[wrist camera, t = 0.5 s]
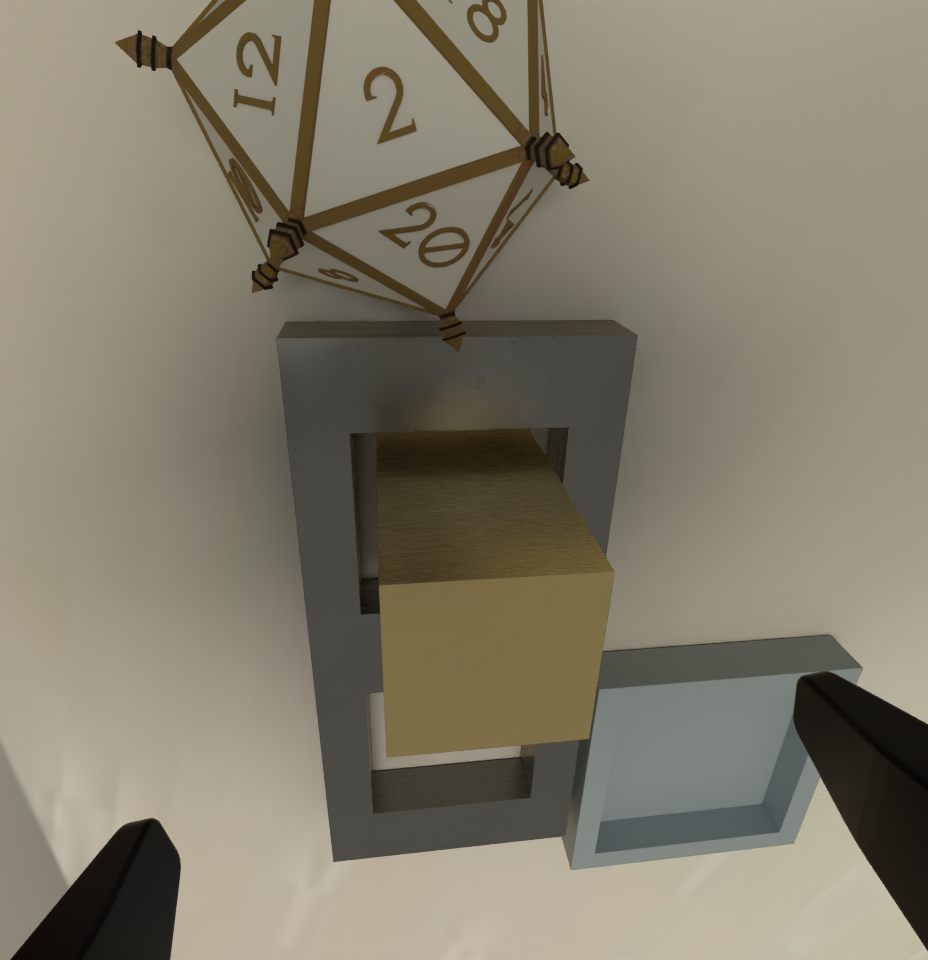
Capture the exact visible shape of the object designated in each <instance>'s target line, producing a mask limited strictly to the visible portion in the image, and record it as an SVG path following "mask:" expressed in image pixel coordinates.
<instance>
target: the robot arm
mask: <svg viewBox="0 0 928 960" xmlns="http://www.w3.org/2000/svg"><path fill="white" fill-rule="evenodd" d="M793 721H794V726H795V729H796V731H797V734H798V736H799V738H800V739H801V741H802V743H803V745H804V747H805V749H806V751H807V753H808V754H809V756H810V758H811V760H812V762H813V764H814V766H815V768H816V769H817V771H818V773H819V775H820V777H821V779H822V781H823V782H824V784H825V786H826V788H827V790H828V792H829V794H830V796H831V797H832V799H833V801H834V803H835V805H836V807H837V809H838V811H839V812H840V814H841V816H842V818H843V820H844V822H845V824H846V825H847V827H848V829H849V831H850V832H851V834H852V836H853V838H854V839H855V841H856V843H857V844H858V846H859V848H860V849H861V851H862V852H863V854H864V855H865V857H866V859H867V860H868V862H869V863H870V865H871V866H872V868H873V869H874V871H875V872H876V874H877V875H878V877H879V878H880V880H881V881H882V883H883V884H884V886H885V887H886V889H887V890H888V892H889V893H890V895H891V896H892V898H893V899H894V901H895V902H896V904H897V905H898V907H899V908H900V910H901V911H902V913H903V914H904V916H905V917H906V919H907V920H908V922H909V924H910V925H911V927H912V928H913V930H914V931H915V933H916V934H917V936H918V937H919V939H920V940H921V942H922V943H923V945H924V946H925V948H926V949H927V951H928V724H927V723H925V722H923V721H921V720H919V719H917V718H916V717H914V716H912V715H910V714H908V713H906V712H905V711H903V710H901V709H899V708H897V707H895V706H894V705H892V704H890V703H888V702H886V701H884V700H883V699H881V698H879V697H877V696H875V695H873V694H872V693H870V692H868V691H866V690H864V689H862V688H861V687H859V686H857V685H855V684H853V683H851V682H850V681H848V680H846V679H844V678H842V677H840V676H839V675H837V674H835V673H832V672H829V671H821V672H816V673H811V674H807V675H803V676H801V677H800V678H799V679H798V680H797V684H796V693H795V702H794V711H793ZM180 871H181V864H180V857H179V854H178V852H177V850H176V848H175V846H174V845H173V843H172V842H171V840H170V838H169V837H168V835H167V833H166V832H165V830H164V828H163V827H162V825H161V823H160V822H159V821H158V820H156V819H154V818H149V819H144V820H140V821H135V822H130V823H127V824H125V825H123V826H122V827H121V828H120V829H119V830H118V831H117V832H116V833H115V834H114V835H113V836H112V838H111V839H110V840H109V841H108V843H107V844H106V845H105V846H104V847H103V849H102V850H101V851H100V852H99V853H98V855H97V856H96V857H95V858H94V859H93V861H92V862H91V863H90V864H89V865H88V867H87V868H86V869H85V870H84V871H83V873H82V874H81V875H80V876H79V877H78V879H77V880H76V881H75V882H74V883H73V885H72V886H71V887H70V888H69V890H68V891H67V892H66V893H65V894H64V896H63V897H62V898H61V899H60V901H59V902H58V903H57V904H56V905H55V906H54V908H53V909H52V910H51V911H50V912H49V914H48V915H47V916H46V917H45V919H44V920H43V921H42V922H41V923H40V924H39V926H38V927H37V928H36V930H34V932H33V933H32V934H31V935H30V937H29V938H28V939H27V940H26V941H25V943H24V944H23V945H22V946H21V947H20V949H19V950H18V951H17V952H16V954H15V955H14V956H13V957H12V958H11V959H10V960H170V957H171V949H172V940H173V932H174V923H175V915H176V906H177V898H178V889H179V880H180Z"/></svg>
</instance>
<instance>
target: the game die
mask: <svg viewBox="0 0 928 960" xmlns="http://www.w3.org/2000/svg"><path fill="white" fill-rule="evenodd" d="M115 43H116V44H117V45H118V46H119V47H120V48H121V49H122V50H123V51H124V52H125V53H126V54H127V55H129V56H130V57H131V58H132V59H133V60H134V61H135V62H136V63H137V67H139V68H141V66H142V65H144V66H148V67H151V69H152V70H153V71H155V70H156V68H168V69H170V70H172V72H173V74H174V76H175V78H176V80H177V82H178V84H179V86H180V88H181V90H182V92H183V94H184V96H185V98H186V100H187V102H188V104H189V106H190V108H191V110H192V112H193V114H194V116H195V118H196V120H197V122H198V124H199V126H200V128H201V130H202V132H203V134H204V136H205V138H206V140H207V142H208V144H209V146H210V148H211V150H212V152H213V154H214V156H215V157H216V159H217V161H218V163H219V165H220V167H221V169H222V171H223V173H224V175H225V177H226V179H227V181H228V183H229V185H230V187H231V189H232V191H233V193H234V195H235V197H236V199H237V201H238V203H239V205H240V207H241V209H242V211H243V213H244V215H245V217H246V219H247V221H248V223H249V225H250V227H251V229H252V231H253V233H254V235H255V237H256V239H257V241H258V243H259V245H260V247H261V249H262V251H263V253H264V255H265V257H266V259H267V262H265V263H264V264H262V265H261V264H258V269H257V270H256V271H252V280H253V287H252V293H253V292H257V291H260V290H263V289H264V290H267V289H272V288H273V286H272V284H273V283H274V282H276V281H278V278H277V275H278V272H279V271H284V272H287V273H291V274H294V275H298V276H301V277H305V278H308V279H312V280H315V281H319V282H322V283H326V284H329V285H333V286H336V287H340V288H343V289H347V290H350V291H353V292H357V293H360V294H364V295H367V296H371V297H374V298H378V299H381V300H385V301H388V302H392V303H395V304H399V305H402V306H406V307H409V308H413V309H416V310H420V311H423V312H427V313H430V314H434V315H437V316H439V317H440V319H441V328H439V330H440V331H442V334H443V337H444V338H443V339H442V341H445V342H447V343H448V344H449V345H450V346H451V347H452V348H454V349H455V350H456V351H457V352H458V353H459V352H460V348H461V344H462V340H463V336H464V334H466V332H465V331H464V332H463V330H462V327H461V324H462V321H460V322H459V320H458V319H457V317H456V316H455V312H454V310H455V309H456V308H457V307H458V305H459V304H460V303H461V301H462V300H463V299H464V297H465V296H466V295H467V293H468V292H469V291H470V289H471V288H472V287H473V286H474V284H475V283H476V282H477V280H478V279H479V278H480V276H481V275H482V274H483V272H484V271H485V270H486V269H487V267H488V266H489V265H490V263H491V262H492V261H493V259H494V258H495V257H496V255H497V254H498V253H499V251H500V250H501V249H502V248H503V246H504V245H505V244H506V242H507V241H508V240H509V238H510V237H511V236H512V234H513V233H514V232H515V230H516V229H517V228H518V227H519V225H520V224H521V223H522V221H523V220H524V219H525V217H526V216H527V215H528V213H529V212H530V211H531V210H532V208H533V207H534V206H535V204H536V203H537V202H538V200H539V199H540V198H541V196H542V195H543V194H544V192H545V191H546V190H547V189H548V187H549V186H550V185H551V183H552V182H553V181H554V179H556V180H558V181H559V182H560V185H561V186H564V185H567V186H569V189H572V188H574V187H576V186H578V185H579V184H581V183H584V182H586V181H589V179H588V178H587V177H586V175H585V174H584V173H583V171H582V170H583V168H582V167H581V166H580V165H579V164H578V163H575V165H573V164H571V163H570V162H569V161H570V160H571V159H573V158H574V157H575V155H574V154H573V153H572V152H571V151H570V149H569V148H568V147H569V144H568V143H567V142H566V141H565V139H564V138H563V137H562V136H561V134H560V133H556V126H555V116H554V107H553V97H552V88H551V78H550V69H549V59H548V50H547V40H546V31H545V21H544V11H543V2H542V0H212V1H211V2H210V4H209V5H208V6H207V7H206V8H205V9H204V11H203V12H202V13H201V14H200V15H199V16H198V18H197V19H196V20H195V21H194V22H193V23H192V25H191V26H190V27H189V28H188V29H187V30H186V32H185V33H184V34H183V35H182V36H181V37H180V39H179V40H178V41H177V42H176V43H175V44H174V46H173V47H167V46H165V45H163V44H162V43H160V42H159V41H157V39H156V36H153V35H152V38H150V37H147V36H144V35H142V32H141V31H139V30H138V34H136V35H133V36H130V37H128V38H125V39H122V40H119V41H117V42H115Z"/></svg>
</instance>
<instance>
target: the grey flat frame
mask: <svg viewBox="0 0 928 960" xmlns="http://www.w3.org/2000/svg"><path fill="white" fill-rule="evenodd" d="M459 322H460V321H459ZM461 327H462V330H463V332H464V331H465V332H466V334H464V336H463V340H462V344H461V348H460V352H459V353H458V352H457V351H456V350H455V349H454V348H452V347H451V346H450V345H449V344H448V343H447V342H445V341H442V339H443V338H444V337H443V334H442V331H440V330H439V328H441V321H394V322H285V324H284V326H283V328H282V330H281V331H280V333H279V335H278V337H277V348H278V357H279V366H280V376H281V385H282V394H283V403H284V412H285V421H286V431H287V440H288V449H289V458H290V467H291V476H292V486H293V495H294V504H295V513H296V522H297V531H298V541H299V550H300V559H301V568H302V577H303V587H304V596H305V605H306V614H307V623H308V632H309V642H310V651H311V660H312V669H313V678H314V687H315V697H316V706H317V715H318V724H319V733H320V742H321V752H322V761H323V770H324V779H325V788H326V797H327V807H328V816H329V825H330V834H331V843H332V852H333V862H337V861H346V860H355V859H364V858H373V857H382V856H391V855H400V854H409V853H418V852H427V851H435V850H444V849H453V848H462V847H471V846H480V845H489V844H498V843H507V842H516V841H525V840H534V839H543V838H552V837H561V836H566V829H567V822H568V815H569V808H570V801H571V794H572V788H573V781H574V774H575V767H576V760H577V753H578V746H579V740H572V741H561V742H551V743H540V744H529V745H522V749H521V758H512V759H502V760H491V761H481V762H470V763H460V764H449V765H439V766H428V767H418V768H407V769H397V770H386V771H375V772H373V765H372V748H371V731H370V714H369V697H368V693H376V692H384V688H383V665H382V643H381V621H380V599H379V579H367V580H362V579H361V563H360V546H359V529H358V512H357V495H356V479H355V462H354V445H353V433H380V432H416V431H451V430H487V429H523V428H550V432H549V444H548V455H547V459H548V461H549V463H550V464H551V466H552V468H553V469H554V471H555V473H556V474H557V476H558V478H559V479H560V481H561V483H562V485H563V486H564V488H565V490H566V491H567V493H568V495H569V496H570V498H571V500H572V501H573V503H574V505H575V506H576V508H577V510H578V511H579V513H580V515H581V516H582V518H583V520H584V521H585V523H586V525H587V526H588V528H589V530H590V531H591V533H592V535H593V536H594V538H595V540H596V541H597V543H598V545H599V547H600V548H601V550H602V552H603V553H604V555H605V557H606V551H607V545H608V538H609V531H610V524H611V517H612V510H613V503H614V496H615V489H616V482H617V475H618V468H619V461H620V454H621V447H622V440H623V433H624V427H625V420H626V413H627V406H628V399H629V392H630V385H631V378H632V371H633V364H634V357H635V350H636V343H637V336H638V335H636V334H635V333H633V332H631V331H630V330H628V329H627V328H625V327H624V326H622V325H620V324H619V323H617V322H616V321H614V320H565V321H462V324H461Z"/></svg>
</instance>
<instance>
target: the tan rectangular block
mask: <svg viewBox="0 0 928 960" xmlns="http://www.w3.org/2000/svg"><path fill="white" fill-rule="evenodd" d="M376 443H377V502H378V561H379V599H380V621H381V643H382V665H383V688H384V710H385V732H386V754H387V757H398V756H409V755H420V754H431V753H442V752H453V751H463V750H474V749H485V748H496V747H507V746H518V745H529V744H540V743H551V742H561V741H572V740H583V739H589V735H590V729H591V722H592V716H593V709H594V703H595V696H596V690H597V683H598V677H599V670H600V663H601V657H602V650H603V644H604V637H605V631H606V624H607V618H608V611H609V605H610V598H611V592H612V585H613V579H614V570H613V568H612V567H611V565H610V563H609V562H608V560H607V558H606V557H605V555H604V553H603V552H602V550H601V548H600V547H599V545H598V543H597V541H596V540H595V538H594V536H593V535H592V533H591V531H590V530H589V528H588V526H587V525H586V523H585V521H584V520H583V518H582V516H581V515H580V513H579V511H578V510H577V508H576V506H575V505H574V503H573V501H572V500H571V498H570V496H569V495H568V493H567V491H566V490H565V488H564V486H563V485H562V483H561V481H560V479H559V478H558V476H557V474H556V473H555V471H554V469H553V468H552V466H551V464H550V463H549V461H548V459H547V458H546V456H545V454H544V453H543V451H542V449H541V448H540V446H539V444H538V443H537V441H536V439H535V438H534V436H533V434H532V433H531V431H530V429H529V428H523V429H487V430H451V431H416V432H380V433H376Z"/></svg>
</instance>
